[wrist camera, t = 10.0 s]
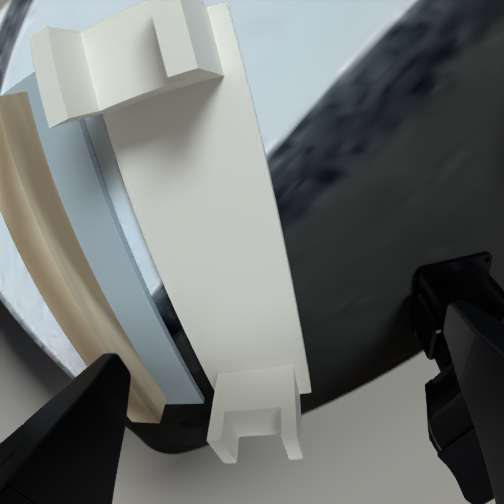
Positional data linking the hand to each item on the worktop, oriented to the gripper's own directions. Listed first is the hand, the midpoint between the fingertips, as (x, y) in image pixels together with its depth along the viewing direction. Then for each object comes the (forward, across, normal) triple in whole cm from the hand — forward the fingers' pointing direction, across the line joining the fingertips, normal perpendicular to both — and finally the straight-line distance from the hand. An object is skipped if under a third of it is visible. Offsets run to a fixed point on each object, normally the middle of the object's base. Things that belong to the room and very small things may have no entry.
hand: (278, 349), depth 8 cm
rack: (+12, +4, +3) cm, 13 cm away
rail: (+11, +15, +3) cm, 19 cm away
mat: (+12, +15, +3) cm, 19 cm away
